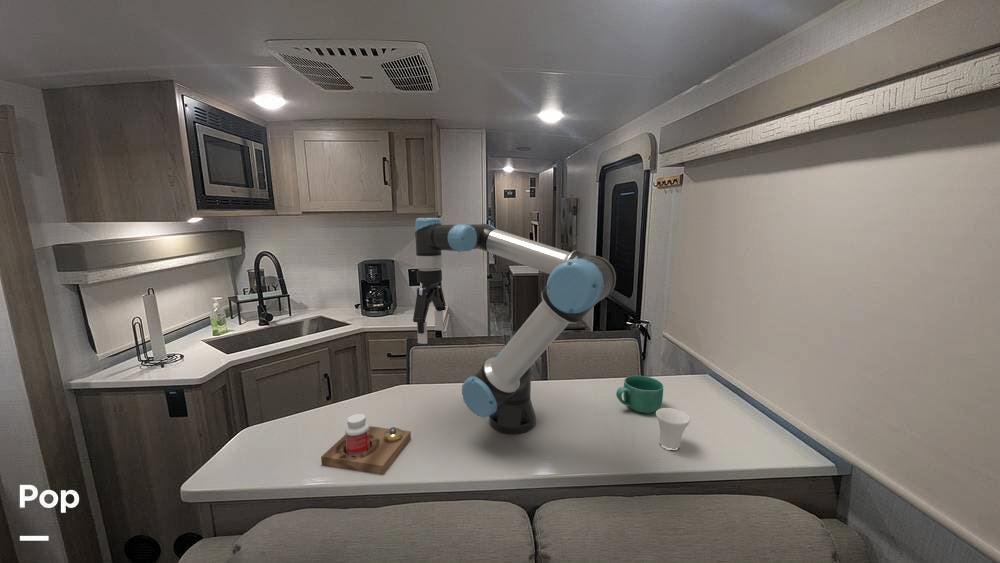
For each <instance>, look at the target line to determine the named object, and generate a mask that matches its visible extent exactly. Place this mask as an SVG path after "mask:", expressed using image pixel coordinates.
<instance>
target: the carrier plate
mask: <svg viewBox="0 0 1000 563" xmlns="http://www.w3.org/2000/svg"><path fill="white" fill-rule="evenodd" d="M388 429H389V428H386V427H379V426H371V425H369V435H370V449H369V450H368V451H366V452H364V453H362V454H358V455H347V449H346V436H345V434H344V435H343V436H342V437H341V438H340V439H339V440H337V441H336V442H335V443H334V444H333V445H332V446H331V447H329V449H328V450H326V452H324V453H323V454H322V455H321V457H320V458H321V466H325V467H330V468H331V467H332V468H337V469H344V470H351V471H356V472H364V473H370V474H375V475H385V473H386V472H387V471H388V470H389V468H390V466H392V464H393V463H394V462H395V461H396V459H397V458H398V456H399V455H400V454H401V452H402V451H403V450H404V448H406V446H407V445H408V443H409V442H410V441H411V440H412V436H411V434H412V433H411V432H412V431H410V430H402V429H401V430H402V438H401V439H400V440H399V441H397V442H393V443H388V442H386V441H385V440H384V432H385V431H387V430H388Z"/></svg>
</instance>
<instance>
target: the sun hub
mask: <svg viewBox="0 0 1000 563" xmlns="http://www.w3.org/2000/svg"><path fill="white" fill-rule="evenodd" d="M401 438H402V429H401V428H398V427H394V426H392V427H389V428H388V430H387V431H385V432H384V440H385V441H386V442H388V443H393V442H397V441H399V440H400V439H401Z"/></svg>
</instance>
